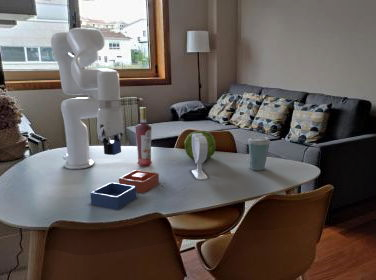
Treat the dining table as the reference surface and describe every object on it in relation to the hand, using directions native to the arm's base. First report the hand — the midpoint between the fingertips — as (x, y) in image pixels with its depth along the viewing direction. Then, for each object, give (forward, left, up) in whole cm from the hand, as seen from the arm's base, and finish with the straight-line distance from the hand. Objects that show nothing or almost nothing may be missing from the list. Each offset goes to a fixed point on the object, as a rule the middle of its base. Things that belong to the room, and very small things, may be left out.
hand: (112, 152), depth 134 cm
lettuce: (+12, +54, -16) cm, 58 cm away
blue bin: (+6, -8, -16) cm, 18 cm away
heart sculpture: (+22, +31, -16) cm, 41 cm away
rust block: (+6, +8, -15) cm, 18 cm away
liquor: (-7, +32, -16) cm, 37 cm away
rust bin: (+6, +8, -16) cm, 19 cm away
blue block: (0, 0, 0) cm, 0 cm away
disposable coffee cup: (+44, +50, -16) cm, 68 cm away
